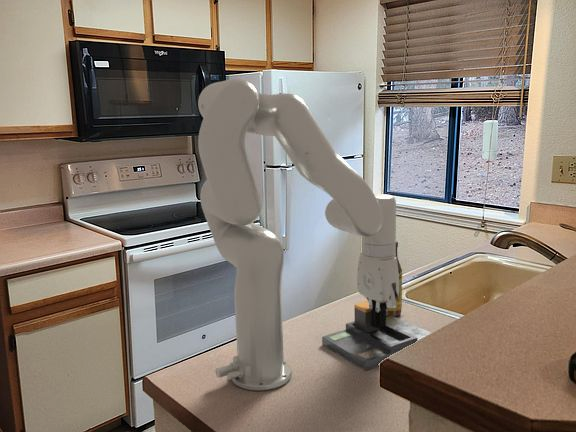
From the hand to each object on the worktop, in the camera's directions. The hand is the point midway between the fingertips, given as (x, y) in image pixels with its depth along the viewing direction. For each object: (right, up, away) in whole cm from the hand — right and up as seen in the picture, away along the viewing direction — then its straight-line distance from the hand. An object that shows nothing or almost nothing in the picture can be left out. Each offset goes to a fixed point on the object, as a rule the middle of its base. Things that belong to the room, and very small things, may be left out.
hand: (378, 325), depth 123 cm
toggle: (-2, -2, +4) cm, 5 cm away
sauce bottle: (+6, -1, +19) cm, 20 cm away
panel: (+1, -5, 0) cm, 5 cm away
